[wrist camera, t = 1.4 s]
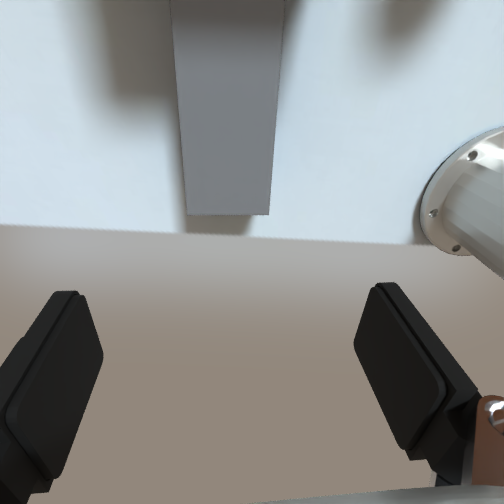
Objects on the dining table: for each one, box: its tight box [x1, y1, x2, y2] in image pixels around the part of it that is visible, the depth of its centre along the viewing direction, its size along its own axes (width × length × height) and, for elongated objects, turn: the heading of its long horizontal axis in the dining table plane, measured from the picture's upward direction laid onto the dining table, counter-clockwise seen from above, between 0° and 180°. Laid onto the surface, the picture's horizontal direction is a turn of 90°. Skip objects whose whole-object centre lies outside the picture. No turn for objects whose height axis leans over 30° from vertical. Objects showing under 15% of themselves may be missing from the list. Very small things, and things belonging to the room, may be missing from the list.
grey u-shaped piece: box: [170, 0, 285, 215], centre depth 21 cm, size 14×6×5 cm, turn 178°
